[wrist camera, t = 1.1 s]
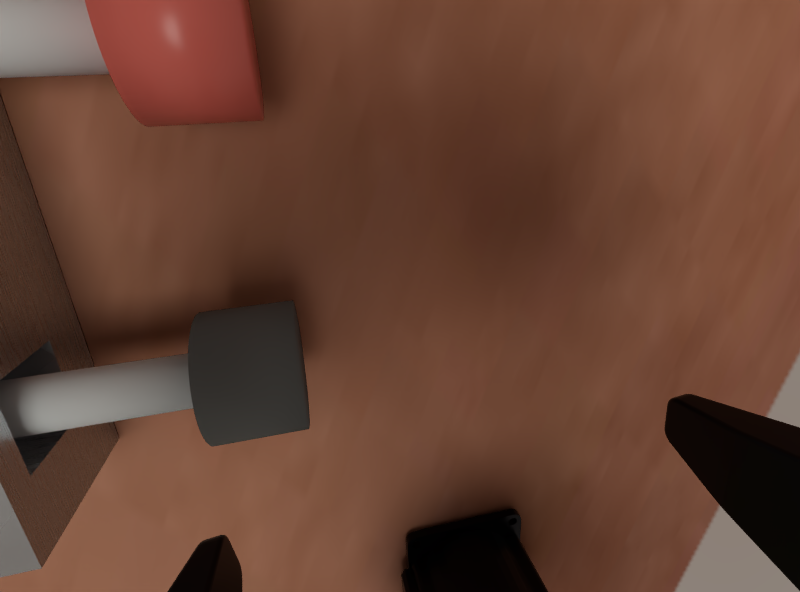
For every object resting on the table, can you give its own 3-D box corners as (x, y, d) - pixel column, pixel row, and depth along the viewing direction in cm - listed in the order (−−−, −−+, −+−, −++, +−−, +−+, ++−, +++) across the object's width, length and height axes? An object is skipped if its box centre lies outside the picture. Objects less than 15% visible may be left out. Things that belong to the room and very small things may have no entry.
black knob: (292, 283, 16) (291, 331, 12) (308, 385, 18) (311, 457, 14) (-86, 329, 14) (-240, 406, 10) (-31, 441, 16) (-145, 546, 12)
